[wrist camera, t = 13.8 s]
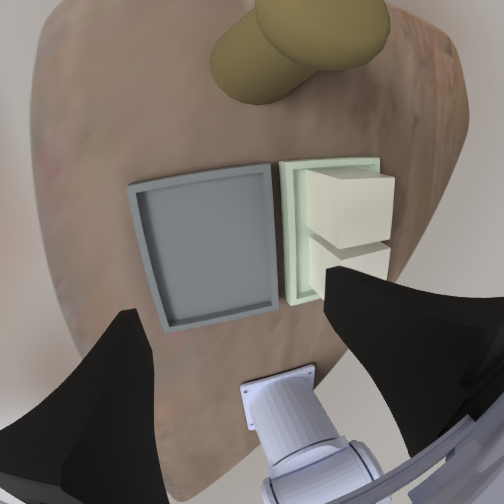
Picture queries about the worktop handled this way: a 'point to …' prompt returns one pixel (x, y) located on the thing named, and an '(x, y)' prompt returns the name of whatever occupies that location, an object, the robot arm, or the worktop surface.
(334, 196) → the stone block
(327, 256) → the stone block
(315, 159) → the tray
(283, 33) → the cork
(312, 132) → the worktop surface
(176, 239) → the tray
